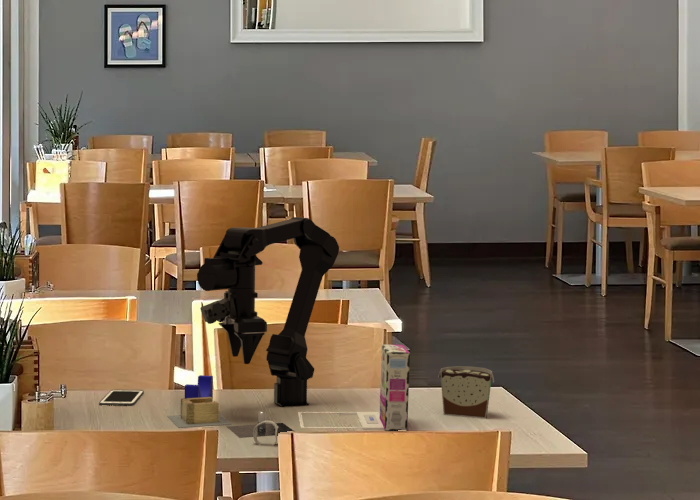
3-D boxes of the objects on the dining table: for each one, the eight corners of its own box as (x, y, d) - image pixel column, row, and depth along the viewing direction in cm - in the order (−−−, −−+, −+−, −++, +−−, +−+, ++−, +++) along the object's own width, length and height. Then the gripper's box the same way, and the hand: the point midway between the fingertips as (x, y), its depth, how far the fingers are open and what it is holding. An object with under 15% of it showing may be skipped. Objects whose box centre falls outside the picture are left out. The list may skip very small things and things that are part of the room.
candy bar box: (409, 432, 256) (410, 352, 254) (384, 432, 255) (386, 352, 254) (402, 419, 267) (403, 343, 265) (378, 419, 266) (380, 343, 265)
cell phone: (98, 407, 276) (98, 402, 276) (111, 393, 290) (111, 389, 290) (133, 407, 276) (133, 403, 276) (144, 394, 290) (144, 389, 290)
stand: (282, 425, 260) (282, 405, 259) (297, 436, 250) (297, 415, 250) (226, 428, 256) (226, 408, 255) (239, 440, 246) (239, 419, 246)
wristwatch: (277, 449, 240) (277, 423, 240) (252, 447, 241) (252, 422, 240) (280, 445, 243) (281, 420, 242) (255, 444, 244) (255, 418, 243)
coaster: (218, 415, 268) (218, 412, 268) (231, 426, 257) (231, 423, 257) (167, 418, 264) (167, 415, 264) (178, 430, 254) (178, 427, 254)
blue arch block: (193, 401, 283) (193, 375, 282) (212, 402, 282) (212, 375, 281) (177, 412, 271) (177, 385, 270) (197, 413, 270) (198, 386, 269)
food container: (498, 413, 274) (500, 368, 273) (492, 419, 269) (493, 373, 268) (444, 408, 278) (445, 364, 277) (437, 414, 273) (438, 368, 272)
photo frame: (388, 426, 257) (300, 426, 256) (388, 432, 257) (300, 432, 256) (381, 411, 272) (297, 411, 270) (380, 416, 272) (297, 416, 270)
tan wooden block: (180, 417, 263) (180, 398, 262) (211, 415, 265) (211, 396, 265) (187, 424, 257) (187, 404, 256) (218, 422, 259) (218, 403, 258)
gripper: (193, 283, 271) (193, 354, 273) (215, 293, 254) (214, 369, 255) (243, 281, 275) (243, 352, 277) (268, 292, 258) (267, 367, 259)
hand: (240, 360), depth 267 cm, fingers open, 9 cm apart
